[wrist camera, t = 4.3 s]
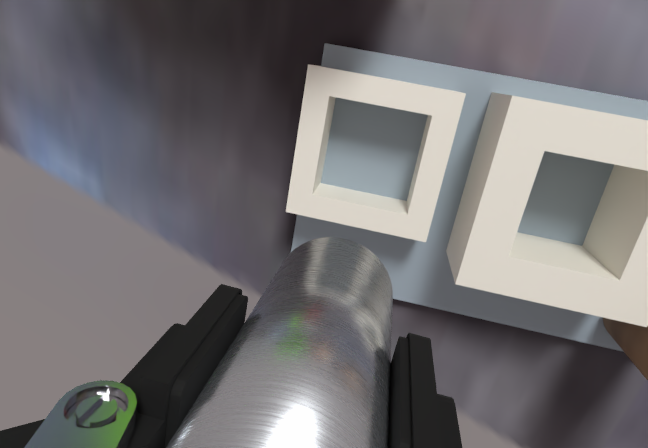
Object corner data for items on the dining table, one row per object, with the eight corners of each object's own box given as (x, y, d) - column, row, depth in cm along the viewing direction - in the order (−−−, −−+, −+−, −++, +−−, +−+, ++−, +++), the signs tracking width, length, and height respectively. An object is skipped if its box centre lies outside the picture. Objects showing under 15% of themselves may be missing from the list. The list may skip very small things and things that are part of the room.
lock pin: (406, 253, 14) (418, 578, 5) (376, 356, 16) (344, 763, 6) (286, 224, 15) (91, 478, 5) (267, 327, 16) (86, 673, 7)
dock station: (765, 123, 25) (872, 136, 19) (652, 351, 30) (711, 414, 24) (324, 43, 27) (304, 34, 22) (287, 267, 32) (264, 308, 27)
